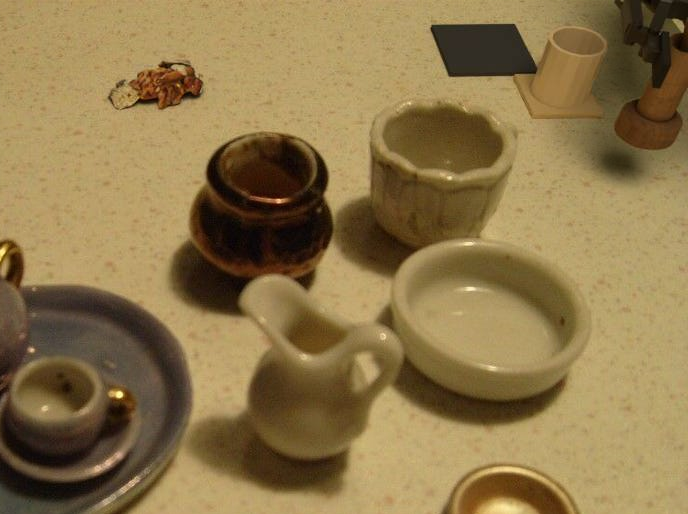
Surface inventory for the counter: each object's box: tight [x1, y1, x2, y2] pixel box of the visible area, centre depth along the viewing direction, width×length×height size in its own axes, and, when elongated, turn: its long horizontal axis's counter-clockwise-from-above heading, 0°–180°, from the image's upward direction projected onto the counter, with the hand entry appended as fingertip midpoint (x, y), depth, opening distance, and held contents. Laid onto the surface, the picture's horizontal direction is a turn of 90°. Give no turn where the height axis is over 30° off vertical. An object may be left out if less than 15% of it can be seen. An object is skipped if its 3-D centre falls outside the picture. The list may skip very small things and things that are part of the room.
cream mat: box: [513, 74, 604, 119], centre depth 111 cm, size 9×9×1 cm
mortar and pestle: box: [613, 18, 688, 151], centre depth 90 cm, size 7×6×18 cm
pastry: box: [107, 58, 205, 111], centre depth 109 cm, size 7×12×4 cm, turn 116°
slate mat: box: [430, 23, 538, 77], centre depth 118 cm, size 12×12×1 cm
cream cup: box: [531, 25, 609, 109], centre depth 108 cm, size 7×7×8 cm
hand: (685, 80), depth 86 cm, fingers closed on mortar and pestle, 4 cm apart
